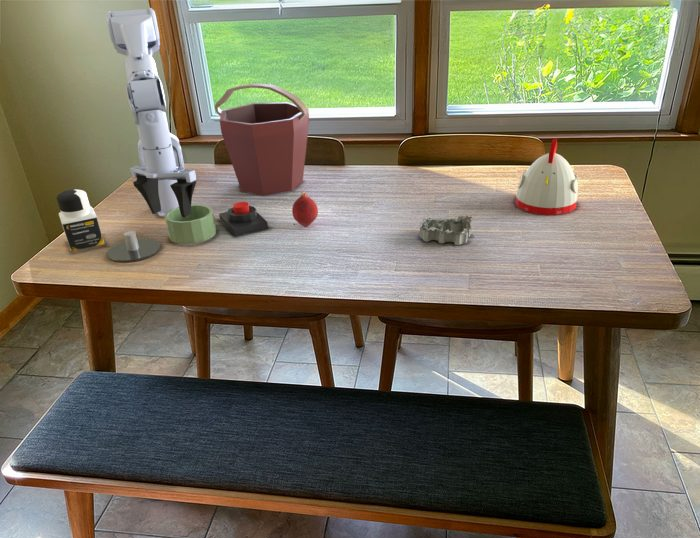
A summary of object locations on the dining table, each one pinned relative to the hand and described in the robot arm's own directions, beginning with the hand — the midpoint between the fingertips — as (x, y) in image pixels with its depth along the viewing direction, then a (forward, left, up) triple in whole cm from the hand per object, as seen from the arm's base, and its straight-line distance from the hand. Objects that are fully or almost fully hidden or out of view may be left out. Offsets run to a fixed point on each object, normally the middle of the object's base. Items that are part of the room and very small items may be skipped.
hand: (171, 214), depth 126 cm
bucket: (-30, +33, -9) cm, 46 cm away
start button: (-7, +17, -6) cm, 19 cm away
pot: (-7, +5, -9) cm, 13 cm away
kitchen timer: (+21, +83, -9) cm, 86 cm away
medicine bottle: (-16, -17, -9) cm, 25 cm away
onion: (+2, +29, -9) cm, 30 cm away
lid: (-5, -8, -8) cm, 13 cm away
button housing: (-7, +17, -9) cm, 21 cm away
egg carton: (+24, +52, -9) cm, 58 cm away
